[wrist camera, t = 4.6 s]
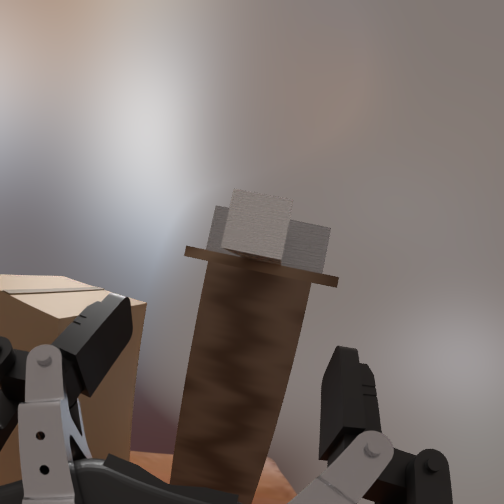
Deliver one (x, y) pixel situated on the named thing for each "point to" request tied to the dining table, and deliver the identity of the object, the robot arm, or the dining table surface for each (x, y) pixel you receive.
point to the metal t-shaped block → (267, 232)
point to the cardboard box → (45, 332)
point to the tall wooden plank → (238, 370)
